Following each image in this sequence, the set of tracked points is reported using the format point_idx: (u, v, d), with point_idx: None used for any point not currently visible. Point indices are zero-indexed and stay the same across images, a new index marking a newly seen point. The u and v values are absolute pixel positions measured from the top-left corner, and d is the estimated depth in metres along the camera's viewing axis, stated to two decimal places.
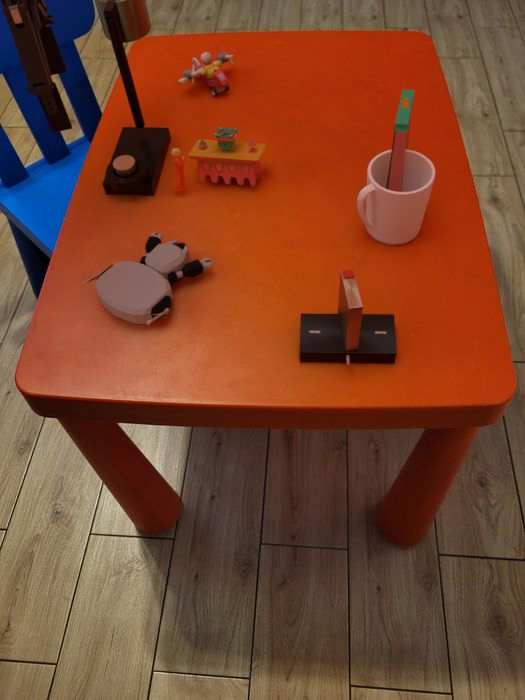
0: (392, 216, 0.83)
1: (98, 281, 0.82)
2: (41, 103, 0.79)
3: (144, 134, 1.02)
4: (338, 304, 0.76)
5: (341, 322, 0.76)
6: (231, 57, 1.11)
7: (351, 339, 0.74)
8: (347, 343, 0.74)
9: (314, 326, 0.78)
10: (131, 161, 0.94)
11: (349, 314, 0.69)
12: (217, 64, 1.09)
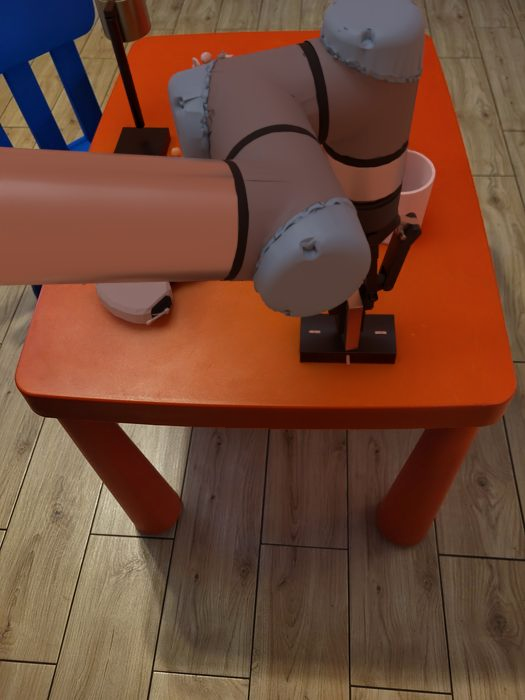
0: None
1: None
2: (365, 308, 0.71)
3: (144, 134, 1.02)
4: None
5: None
6: None
7: (351, 339, 0.74)
8: (347, 343, 0.74)
9: (314, 326, 0.78)
10: None
11: (349, 314, 0.69)
12: None
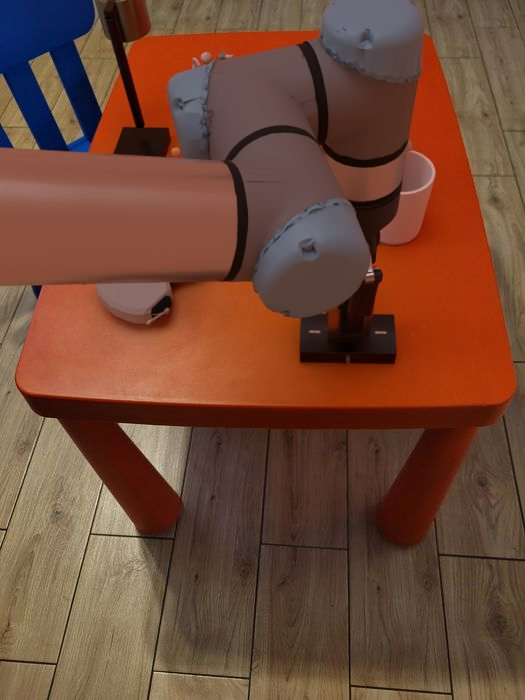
0: None
1: None
2: (343, 314, 0.71)
3: (144, 134, 1.02)
4: None
5: None
6: (231, 57, 1.11)
7: (326, 322, 0.75)
8: (325, 323, 0.76)
9: (314, 326, 0.78)
10: None
11: None
12: None
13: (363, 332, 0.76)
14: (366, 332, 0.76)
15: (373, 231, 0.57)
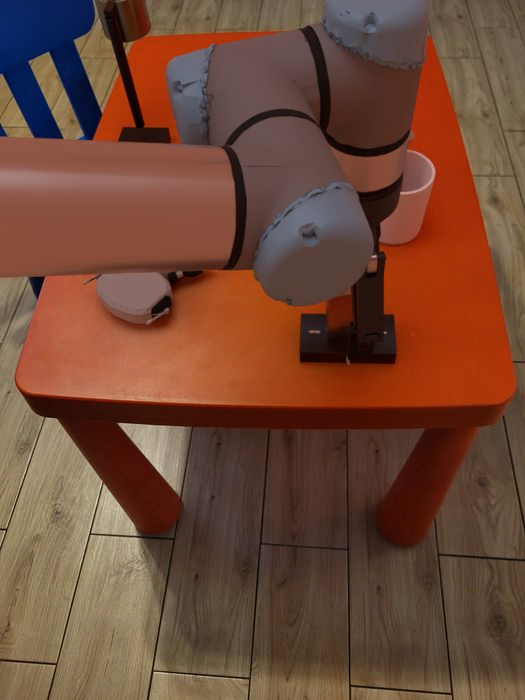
0: (392, 216, 0.83)
1: (98, 281, 0.82)
2: (352, 338, 0.65)
3: (144, 134, 1.02)
4: None
5: None
6: None
7: (326, 322, 0.75)
8: (325, 323, 0.76)
9: (314, 326, 0.78)
10: None
11: None
12: None
13: None
14: None
15: (373, 223, 0.56)
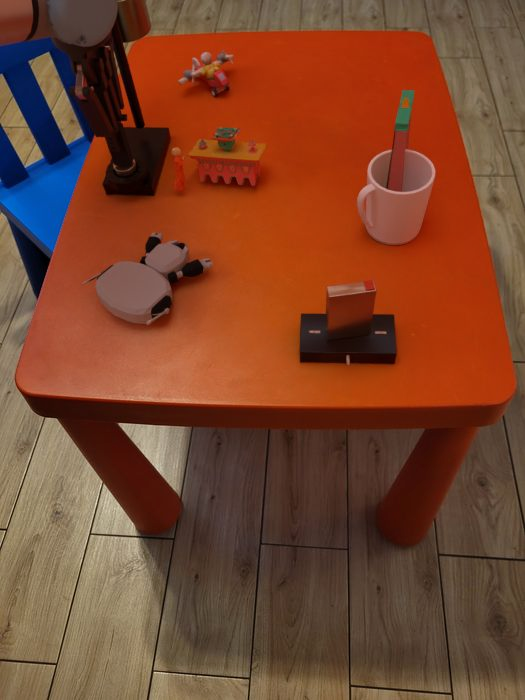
0: (392, 216, 0.83)
1: (98, 281, 0.82)
2: (107, 141, 0.90)
3: (144, 134, 1.02)
4: None
5: None
6: (231, 57, 1.11)
7: (326, 322, 0.75)
8: (325, 323, 0.76)
9: (314, 326, 0.78)
10: None
11: (326, 293, 0.71)
12: (217, 64, 1.09)
13: (363, 332, 0.76)
14: (366, 332, 0.76)
15: (78, 51, 0.75)
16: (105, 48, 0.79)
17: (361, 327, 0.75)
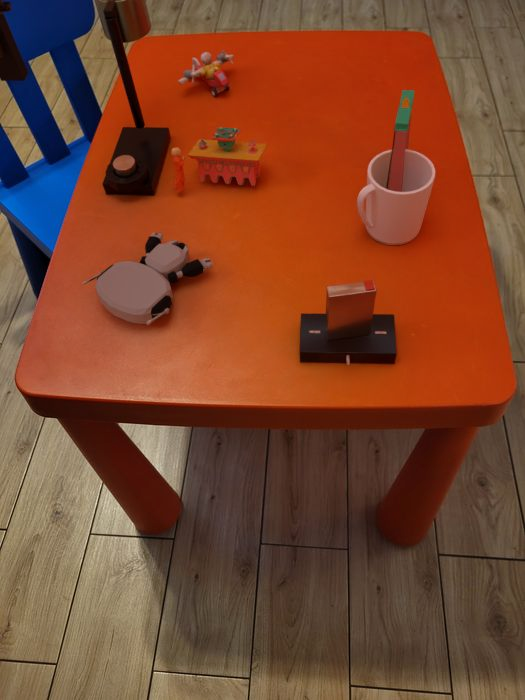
0: (392, 216, 0.83)
1: (98, 281, 0.82)
2: None
3: (144, 134, 1.02)
4: None
5: None
6: (231, 57, 1.11)
7: (326, 322, 0.75)
8: (325, 323, 0.76)
9: (314, 326, 0.78)
10: (131, 161, 0.94)
11: (326, 293, 0.71)
12: (217, 64, 1.09)
13: (363, 332, 0.76)
14: (366, 332, 0.76)
15: None
16: None
17: (361, 327, 0.75)
